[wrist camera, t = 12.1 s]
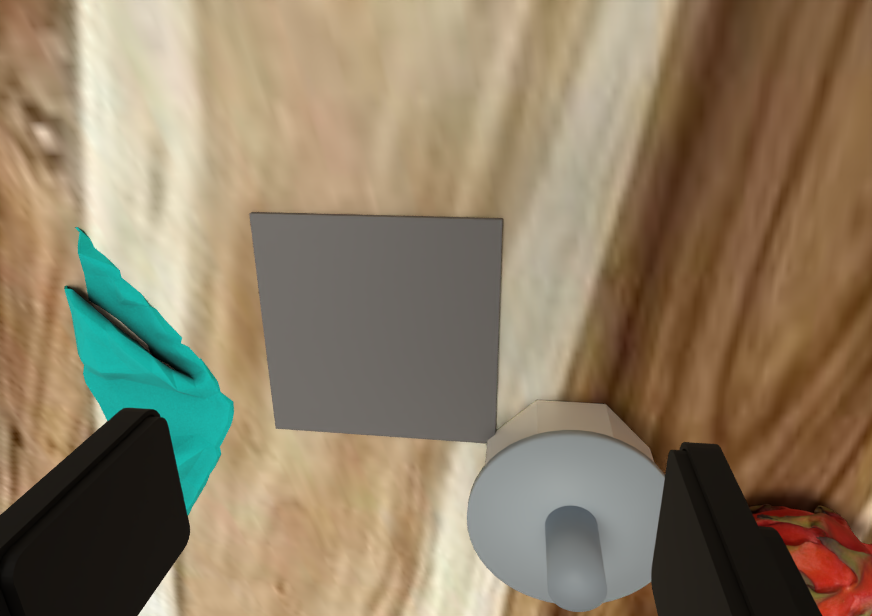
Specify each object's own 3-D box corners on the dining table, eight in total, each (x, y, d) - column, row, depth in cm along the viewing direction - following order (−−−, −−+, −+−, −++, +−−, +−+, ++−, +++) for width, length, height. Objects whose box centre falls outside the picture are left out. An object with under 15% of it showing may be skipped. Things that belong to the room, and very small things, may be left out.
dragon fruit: (858, 551, 45) (693, 488, 47) (944, 525, 38) (745, 452, 40) (854, 678, 41) (674, 603, 43) (951, 676, 34) (728, 587, 36)
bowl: (655, 406, 41) (671, 451, 37) (636, 537, 45) (649, 592, 41) (488, 396, 43) (484, 437, 38) (485, 524, 47) (480, 575, 42)
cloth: (243, 542, 52) (231, 562, 50) (88, 513, 53) (70, 532, 51) (235, 242, 42) (220, 251, 39) (44, 215, 43) (19, 223, 41)
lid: (691, 436, 36) (720, 502, 31) (664, 604, 41) (684, 686, 36) (468, 423, 38) (458, 484, 32) (467, 585, 43) (459, 661, 37)
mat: (502, 218, 38) (502, 219, 37) (495, 440, 44) (495, 443, 43) (251, 212, 40) (249, 213, 39) (277, 425, 46) (275, 428, 45)
